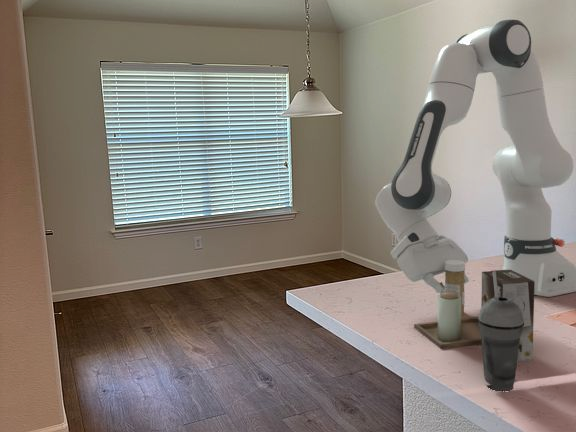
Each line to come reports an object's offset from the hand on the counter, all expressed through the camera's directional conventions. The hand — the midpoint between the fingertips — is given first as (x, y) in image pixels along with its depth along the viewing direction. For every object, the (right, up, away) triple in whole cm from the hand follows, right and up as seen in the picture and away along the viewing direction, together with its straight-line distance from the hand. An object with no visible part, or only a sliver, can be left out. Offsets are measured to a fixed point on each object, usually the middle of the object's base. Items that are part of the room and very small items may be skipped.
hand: (454, 287), depth 122 cm
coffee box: (+3, -11, -21) cm, 24 cm away
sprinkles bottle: (0, -7, +1) cm, 8 cm away
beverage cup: (-3, -13, -33) cm, 35 cm away
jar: (-6, -9, -14) cm, 18 cm away
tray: (-2, -9, -11) cm, 15 cm away
